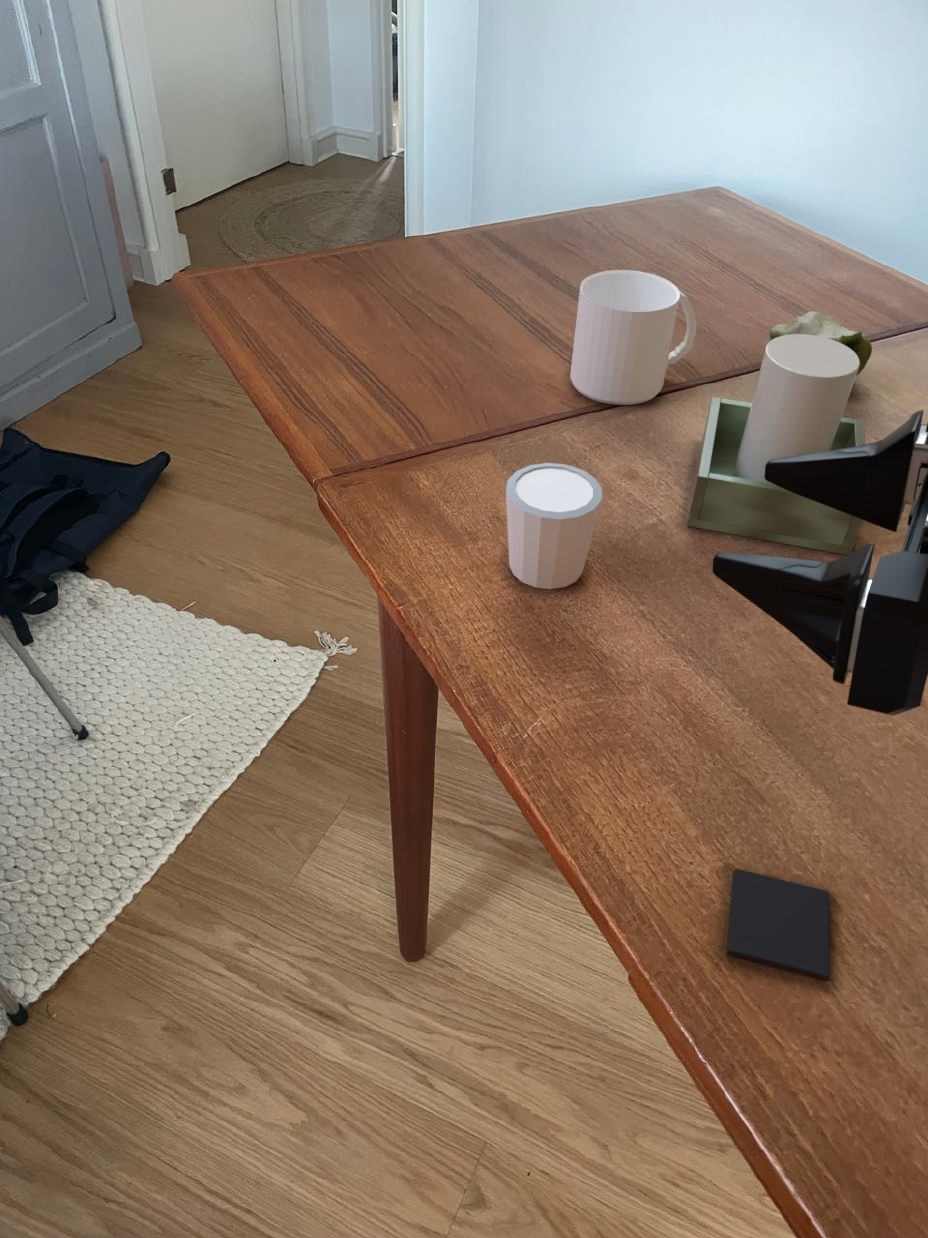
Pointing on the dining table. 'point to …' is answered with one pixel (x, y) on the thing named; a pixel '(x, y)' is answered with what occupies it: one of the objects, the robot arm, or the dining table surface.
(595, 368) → the mug
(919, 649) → the robot arm
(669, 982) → the dining table surface
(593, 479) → the faceted white cup
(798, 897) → the coaster
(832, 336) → the fruit
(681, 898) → the dining table surface
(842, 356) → the white cylinder
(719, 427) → the wooden box
